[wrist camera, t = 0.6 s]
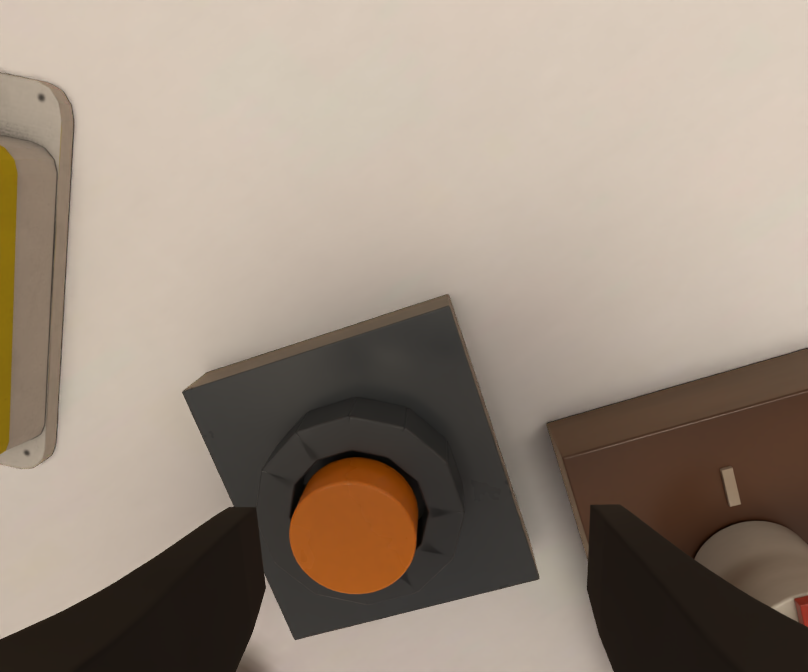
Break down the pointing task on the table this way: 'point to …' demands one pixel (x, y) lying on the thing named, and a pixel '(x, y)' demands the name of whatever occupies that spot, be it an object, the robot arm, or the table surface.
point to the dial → (762, 564)
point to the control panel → (696, 454)
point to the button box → (376, 439)
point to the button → (355, 526)
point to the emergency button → (32, 263)
